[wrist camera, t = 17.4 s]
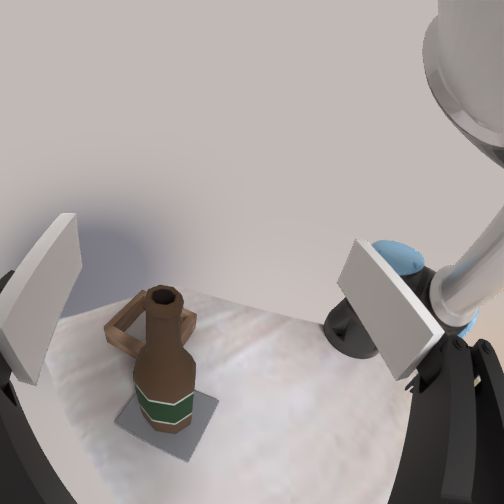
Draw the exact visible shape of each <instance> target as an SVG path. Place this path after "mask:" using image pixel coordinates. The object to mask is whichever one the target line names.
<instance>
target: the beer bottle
mask: <svg viewBox="0 0 504 504" xmlns="http://www.w3.org/2000/svg"><path fill="white" fill-rule="evenodd" d="M183 304H184V300H183V297H182V295H181V294H180V293H179V292H178V291H177V290H176V289H175V288H174V287H170V286H163V285H158V286H156V287H153V288H151V289H148V291H147V294H146V297H145V299H144V303H143V306H142V307H143V308H144V309H145V310H146V345H144V346H143V347H141V349H140V351H139V353H138V356H137V360H136V364H135V367H134V371H133V378H134V384H135V389H136V393H137V397H138V401H139V404H140V408H141V412H142V414H143V416H144V418H145V419H146V420H147V421H148V423H149V424H150V425H151V426H152V427H153V429H154V430H155V431H159V432H165V433H171V434H176V433H178V432H179V431H181V430H182V429H184V428H185V427H187V426H188V425H190V424H191V420H192V409H193V398H194V387H195V375H196V363H195V361H194V359H193V358H192V356H191V355H190V354H189V353H188V352H187V351H186V350H185V349H184V348H183V345H182V341H181V316H180V314H181V313H182V309H183Z"/></svg>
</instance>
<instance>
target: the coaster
mask: <svg viewBox="0 0 504 504" xmlns="http://www.w3.org/2000/svg"><path fill="white" fill-rule="evenodd" d="M218 403H219V400H216V399H214V398H211V397H209V396H207V395H204V394H202V393H200V392H197V391H195V390H194V398H193V409H192V420H191V424H190V425H188V426H187V427H185V428H184V429H182V430H181V431H179V432H178V433H176V434H171V433H165V432H159V431H155V430H154V429H153V427H152V426H151V425H150V424H149V423H148V421H147V420H146V419H145V418H144V416H143V414H142V412H141V408H140V404H139V401H138V397H137V393H136V394H135V395H134V396H133V398H132V399H131V401H130V402H129V403H128V405H127V406H126V407H125V409H124V410H123V412H122V413H121V414H120V416H119V417H118V418H117V420H116V421H115V424H116V425H118V426H119V427H121V428H122V429H124V430H126V431H127V432H129V433H131V434H132V435H134V436H136V437H138V438H139V439H141V440H143V441H145V442H147V443H148V444H150V445H152V446H154V447H156V448H158V449H160V450H162V451H164V452H166V453H168V454H170V455H172V456H174V457H176V458H178V459H181V460H183V461H185V462H187V463H188V462H189V460H190V458H191V457H192V455H193V453H194V451H195V449H196V447H197V445H198V443H199V441H200V439H201V437H202V435H203V433H204V431H205V429H206V427H207V425H208V423H209V421H210V419H211V417H212V415H213V413H214V411H215V409H216V407H217V405H218Z"/></svg>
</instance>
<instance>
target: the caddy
mask: <svg viewBox="0 0 504 504" xmlns="http://www.w3.org/2000/svg"><path fill="white" fill-rule="evenodd" d="M146 294H147V292H146V291H144V290H142V291H141V292H140V293H139V294H138V295H136V296H135V297H134V298H133V299H132V300H131V301H130V302H129V303H128V304H127V305H126V306H125V307H124V308H123V309H122V310H121V311H120V312H119V313H118V314H116V315H115V316H114V317H113V318H112V319H111V320H110V321H109V322H108V323H107V324H106V325H105V326H104V330H105V334H106V339H107V342H109V343H110V344H112V345H114V346H115V347H117V348H119V349H120V350H122V351H124V352H126V353H127V354H129V355H131V356H133V357H134V358H136V359H137V356H138V353H139V351H140V349H141V347H143V346H144V345H146V344H145V343H143V342H141V341H139V340H137V339H135V338H134V337H132V336H130V335H128V334H126V333H124V331H125V330H126V329H127V328H128V327H129V326H130V325H131V324H132V323H133V322H134V321H135V320H136V318H137V317H138V316H139V315H140V314H141V313H142V312H143V311H144V310H145V309H144V308H143V307H142V306H143V303H144V299H145V297H146ZM180 316H181V341H182V345H184V344H185V342H186V341H187V340H188V338H189V337H190V335H191V334H192V332H193V331H194V330H195V326H196V317H197V314H196V313H193V312H191V311H188V310H186V309H184V308H183V309H182V313H181V314H180Z"/></svg>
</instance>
